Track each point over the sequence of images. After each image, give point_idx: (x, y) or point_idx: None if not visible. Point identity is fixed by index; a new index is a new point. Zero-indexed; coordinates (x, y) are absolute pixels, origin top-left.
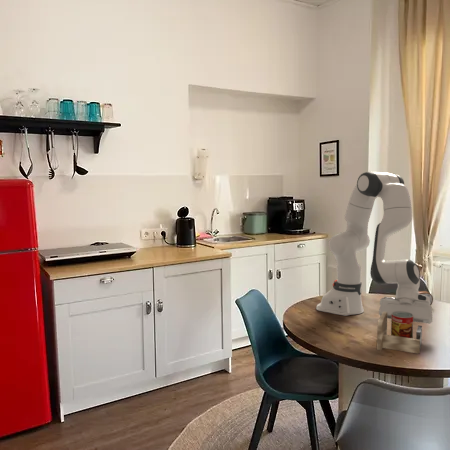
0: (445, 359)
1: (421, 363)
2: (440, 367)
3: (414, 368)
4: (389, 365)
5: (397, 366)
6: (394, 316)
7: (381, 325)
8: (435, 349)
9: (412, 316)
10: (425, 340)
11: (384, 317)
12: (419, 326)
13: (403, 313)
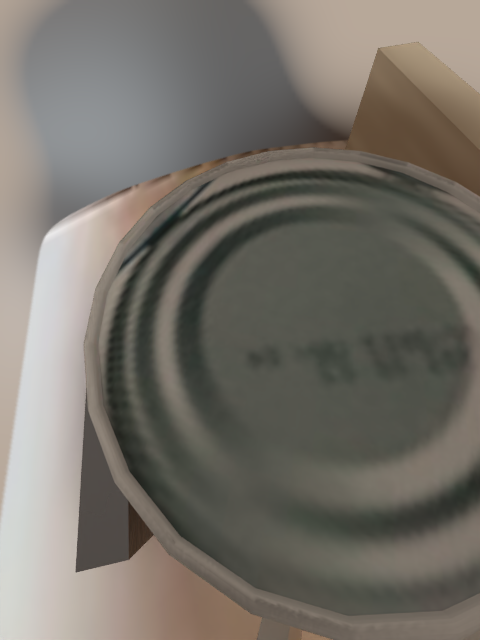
0: (29, 320)
1: (130, 227)
2: (59, 234)
3: (148, 182)
4: (228, 160)
5: (203, 167)
6: (381, 173)
7: (368, 88)
8: (69, 435)
9: (99, 281)
10: (142, 611)
11: (477, 147)
12: (108, 509)
13: (342, 392)
